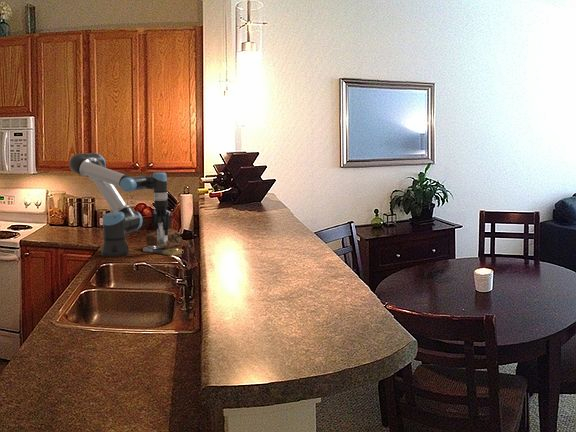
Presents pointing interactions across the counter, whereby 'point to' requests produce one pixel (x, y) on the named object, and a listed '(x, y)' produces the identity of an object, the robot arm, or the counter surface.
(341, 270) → the counter surface
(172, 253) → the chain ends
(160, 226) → the pin
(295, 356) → the counter surface
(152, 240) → the bread
